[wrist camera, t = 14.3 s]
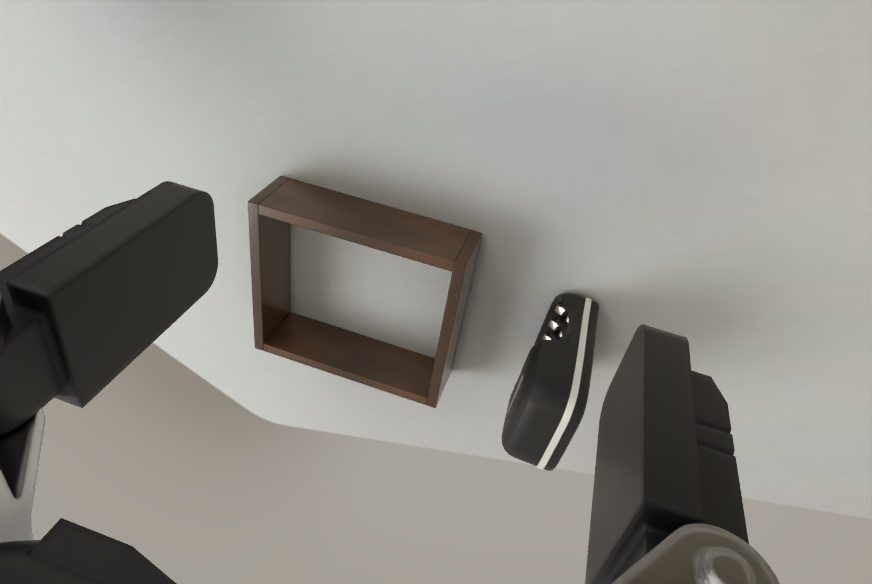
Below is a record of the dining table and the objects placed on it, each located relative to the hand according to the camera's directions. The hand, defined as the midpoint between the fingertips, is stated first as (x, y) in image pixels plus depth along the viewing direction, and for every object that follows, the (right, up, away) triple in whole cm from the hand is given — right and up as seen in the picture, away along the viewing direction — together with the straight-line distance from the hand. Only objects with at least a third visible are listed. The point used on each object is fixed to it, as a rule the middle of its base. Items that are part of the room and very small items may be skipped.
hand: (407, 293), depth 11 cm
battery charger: (+10, -2, +33) cm, 35 cm away
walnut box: (-5, +1, +36) cm, 36 cm away
